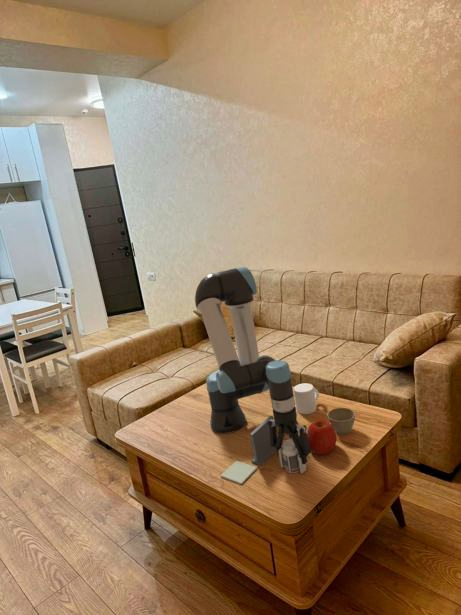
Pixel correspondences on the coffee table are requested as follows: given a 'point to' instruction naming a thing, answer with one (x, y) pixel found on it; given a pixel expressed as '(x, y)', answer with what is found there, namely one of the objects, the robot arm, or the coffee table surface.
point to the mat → (238, 472)
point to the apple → (321, 437)
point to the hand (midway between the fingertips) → (293, 467)
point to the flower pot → (341, 420)
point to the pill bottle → (290, 456)
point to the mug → (305, 398)
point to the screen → (262, 443)
